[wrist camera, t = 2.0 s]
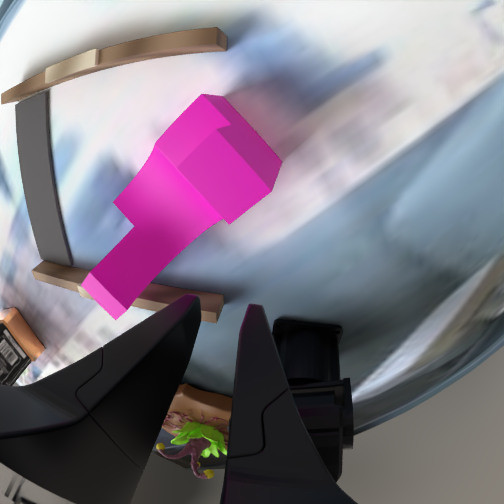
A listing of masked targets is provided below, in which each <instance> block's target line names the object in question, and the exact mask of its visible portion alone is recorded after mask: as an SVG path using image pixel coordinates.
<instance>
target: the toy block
mask: <svg viewBox="0 0 504 504" xmlns="http://www.w3.org/2000/svg"><path fill="white" fill-rule="evenodd" d="M281 164H282V161H281V160H280V159H279V157H278V156H277V155H276V154H275V153H274V152H273V150H272V149H271V148H270V147H269V146H268V145H267V144H266V142H265V141H264V140H263V139H262V138H261V137H260V136H259V135H258V134H257V132H256V131H255V130H254V129H253V128H252V127H251V126H250V125H249V124H248V123H247V121H246V120H245V119H244V118H243V117H242V116H241V115H240V114H239V113H238V112H237V111H236V110H235V109H234V108H233V107H232V106H231V104H230V103H229V102H228V101H227V100H226V99H225V98H224V97H223V96H216V95H208V94H201V95H200V96H199V97H198V98H197V99H196V100H195V101H194V102H193V103H192V104H191V105H190V106H189V107H188V108H187V109H186V110H185V111H184V112H183V113H182V114H181V115H180V116H179V117H178V118H177V119H176V120H175V122H174V123H173V124H172V125H171V126H170V127H169V128H168V129H167V130H166V131H165V132H164V134H163V135H162V136H161V137H160V138H159V139H158V140H157V141H156V143H155V145H154V148H153V151H152V153H151V155H150V156H149V158H148V160H147V161H146V163H145V164H144V166H143V167H142V168H141V170H140V171H139V172H138V174H137V175H136V176H135V177H134V179H133V180H132V181H131V182H130V184H129V185H128V186H127V187H126V188H125V189H124V191H123V192H122V193H121V194H120V195H119V196H118V197H117V198H116V199H115V200H114V202H113V203H114V204H115V205H116V206H117V207H118V208H119V210H120V211H121V212H122V213H123V214H124V215H125V216H126V217H127V218H128V220H129V221H130V222H131V223H132V224H133V225H134V226H135V227H134V228H133V229H132V230H131V231H130V232H129V233H128V234H127V235H126V236H125V237H124V238H123V239H122V240H121V241H120V242H119V243H118V244H117V245H116V246H115V247H114V248H113V249H112V250H111V251H110V252H109V253H108V254H107V255H106V256H105V257H104V258H103V260H102V261H101V262H100V263H99V264H98V265H97V266H96V267H95V268H94V269H93V270H92V271H91V272H90V273H89V274H88V276H87V277H86V278H85V280H84V281H83V283H82V284H81V286H82V287H83V288H84V289H85V290H86V291H87V292H88V293H89V294H90V295H91V296H92V297H93V299H94V300H95V301H96V302H97V303H98V304H99V305H100V306H101V307H102V308H104V309H105V310H106V311H107V312H108V313H109V314H110V315H111V316H112V317H113V318H114V319H115V320H117V319H118V318H119V317H120V316H121V315H122V314H123V313H125V312H126V311H127V310H128V308H129V307H130V306H131V305H132V303H133V302H134V301H135V300H136V299H137V297H138V296H139V295H140V294H141V293H142V291H143V290H144V289H145V288H146V287H147V286H148V285H149V284H150V282H151V281H152V280H153V279H154V278H155V277H156V276H157V275H158V274H159V273H160V272H161V271H162V270H163V269H164V268H165V267H166V266H167V265H168V264H169V263H170V262H171V261H172V260H173V259H174V258H175V257H176V256H177V255H178V254H179V253H180V252H181V251H182V250H183V249H184V248H185V247H186V246H188V245H189V244H190V243H191V242H192V241H193V240H194V239H196V238H197V237H198V236H199V235H200V234H202V233H203V232H204V231H205V230H207V229H208V228H209V227H211V226H212V225H214V224H215V223H217V222H218V221H220V220H222V219H224V220H225V221H226V222H227V223H228V224H231V223H232V222H233V221H234V220H236V219H237V218H238V217H239V216H241V215H242V214H243V213H245V212H246V211H247V210H248V209H250V208H251V207H252V206H253V205H255V204H256V203H257V202H259V201H260V200H261V199H262V198H264V197H265V196H266V195H268V194H269V193H270V192H271V191H272V189H273V186H274V184H275V181H276V178H277V175H278V172H279V170H280V167H281Z"/></svg>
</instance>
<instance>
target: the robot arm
mask: <svg viewBox="0 0 504 504" xmlns="http://www.w3.org/2000/svg"><path fill="white" fill-rule="evenodd" d="M201 318H202V314H201V303H200V297H199V296H198V295H193V294H185V295H184V296H182V297H180V298H179V299H177V300H176V301H174V302H172V303H171V304H169V305H168V306H166V307H164V308H163V309H161V310H160V311H158V312H156V313H155V314H153V315H152V316H150V317H148V318H147V319H145V320H144V321H142V322H140V323H139V324H137V325H136V326H134V327H132V328H131V329H129V330H128V331H126V332H124V333H123V334H121V335H120V336H118V337H116V338H115V339H113V340H112V341H110V342H108V343H107V344H105V345H104V346H103V347H100V348H99V349H97V350H96V351H94V352H92V353H91V354H89V355H87V356H86V357H84V358H82V359H81V360H79V361H77V362H75V363H73V364H71V365H69V366H67V367H65V368H63V369H61V370H59V371H57V372H55V373H53V374H51V375H49V376H47V377H45V378H43V379H41V380H39V381H37V382H34V383H32V384H29V385H26V386H16V387H15V386H5V385H0V504H131V501H132V499H133V496H134V493H135V491H136V488H137V486H138V483H139V481H140V479H141V476H142V474H143V470H144V469H145V466H146V463H147V461H148V459H149V456H150V453H151V452H152V449H153V447H154V444H155V442H156V439H157V437H158V435H159V432H160V430H161V427H162V425H163V423H164V420H165V418H166V416H167V413H168V411H169V408H170V406H171V404H172V401H173V399H174V397H175V394H176V392H177V390H178V387H179V385H180V383H181V380H182V378H183V376H184V373H185V371H186V369H187V366H188V364H189V361H190V358H191V354H192V351H193V347H194V344H195V340H196V337H197V334H198V330H199V327H200V323H201ZM277 324H281V325H277ZM336 330H339V331H336ZM342 333H343V329H342V327H341V326H339V325H329V324H319V323H309V322H300V321H292V320H283V319H276V320H275V321H274V324H273V331H272V332H271V329H270V326H269V323H268V320H267V317H266V314H265V311H264V308H263V306H262V305H259V304H249V305H248V308H247V311H246V314H245V317H244V320H243V322H242V325H241V329H240V333H239V341H238V350H237V359H236V369H235V379H234V388H233V398H232V407H231V417H230V419H229V425H228V427H227V431H228V432H229V437H228V447H227V456H226V458H227V460H226V466H225V474H224V482H223V488H222V493H221V499H220V504H358V503H356V502H355V501H354V500H353V499H352V498H351V497H350V496H348V495H347V494H346V493H345V492H344V491H343V490H342V489H341V488H340V487H339V486H338V485H337V483H336V482H337V481H338V479H339V478H340V476H341V473H342V453H343V450H346V449H353V406H352V395H351V385H350V378H343V380H340V365H339V350H338V344H339V341H340V339H341V336H342Z"/></svg>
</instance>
